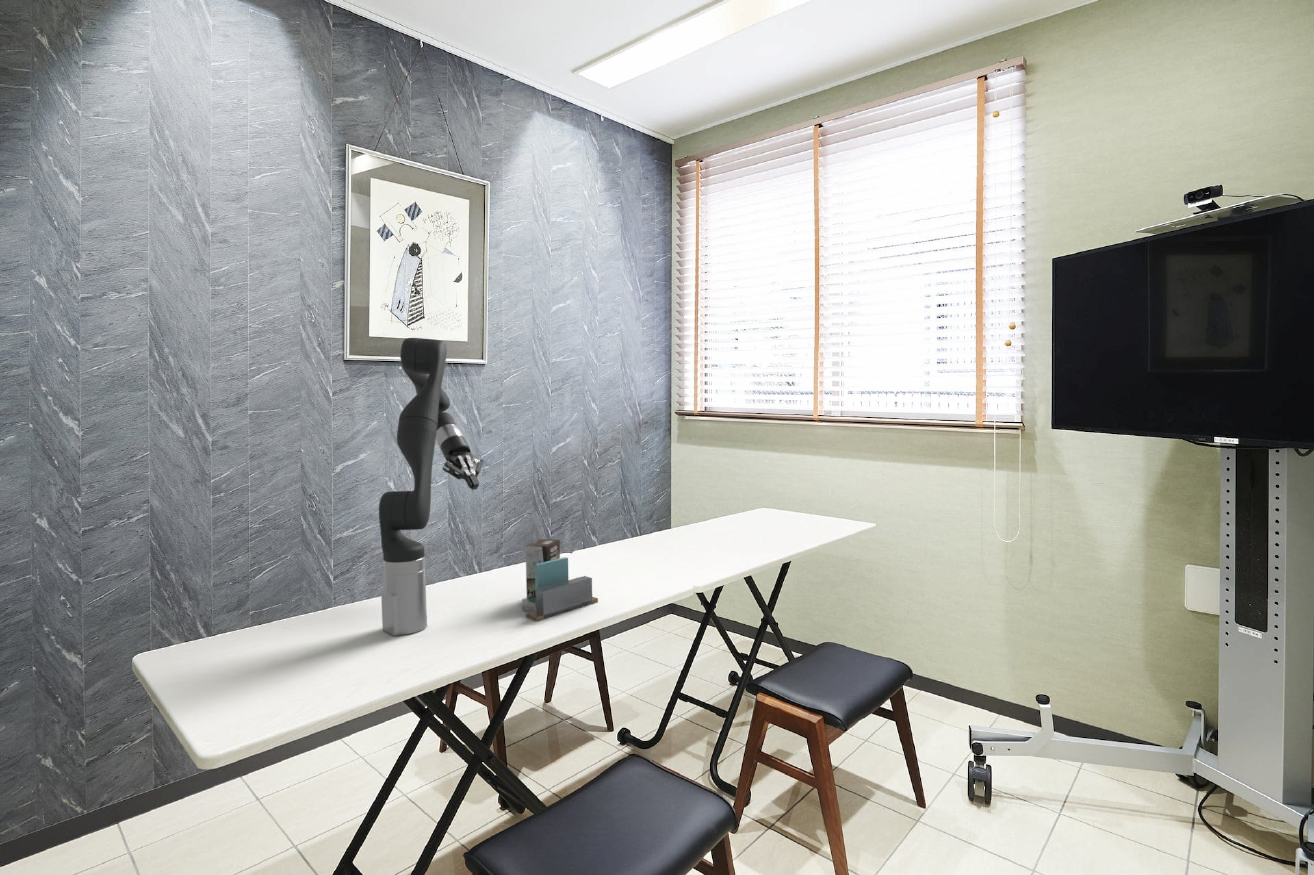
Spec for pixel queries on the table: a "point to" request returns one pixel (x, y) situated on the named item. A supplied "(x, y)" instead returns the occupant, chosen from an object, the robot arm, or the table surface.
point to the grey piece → (559, 598)
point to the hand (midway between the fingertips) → (475, 487)
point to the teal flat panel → (550, 573)
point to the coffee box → (539, 559)
